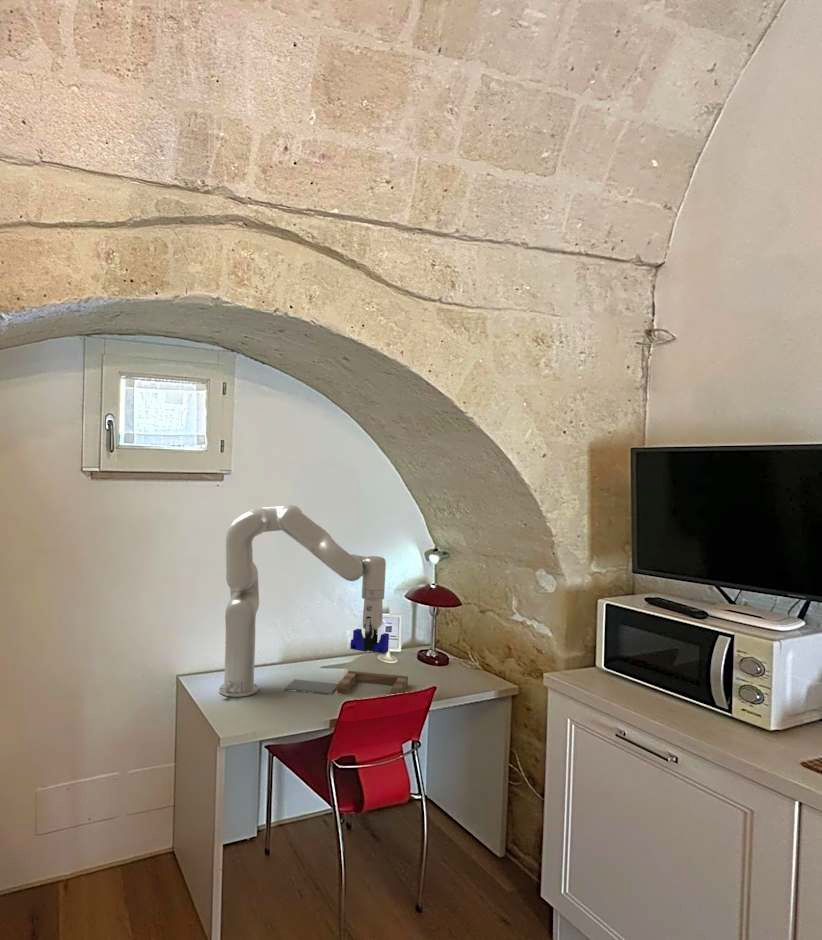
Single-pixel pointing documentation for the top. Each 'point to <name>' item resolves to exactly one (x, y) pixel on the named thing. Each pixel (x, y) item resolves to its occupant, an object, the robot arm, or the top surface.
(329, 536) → the robot arm
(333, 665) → the top surface
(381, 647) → the blue u-shaped cradle
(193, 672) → the top surface
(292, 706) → the top surface
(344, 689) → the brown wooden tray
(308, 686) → the rubber mat
